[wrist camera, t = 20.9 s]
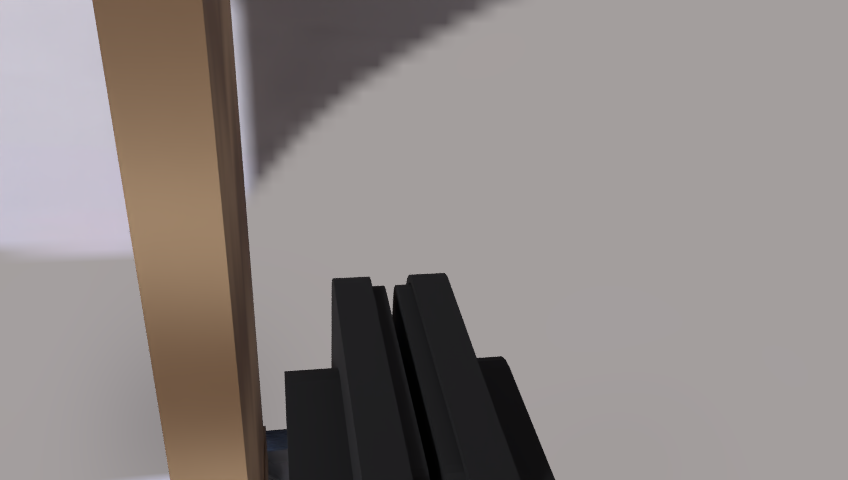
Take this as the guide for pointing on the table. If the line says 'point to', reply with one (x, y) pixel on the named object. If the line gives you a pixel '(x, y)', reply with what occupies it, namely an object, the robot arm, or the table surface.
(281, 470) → the hinge post
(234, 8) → the table surface
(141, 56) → the gate
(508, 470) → the robot arm
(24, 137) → the table surface
